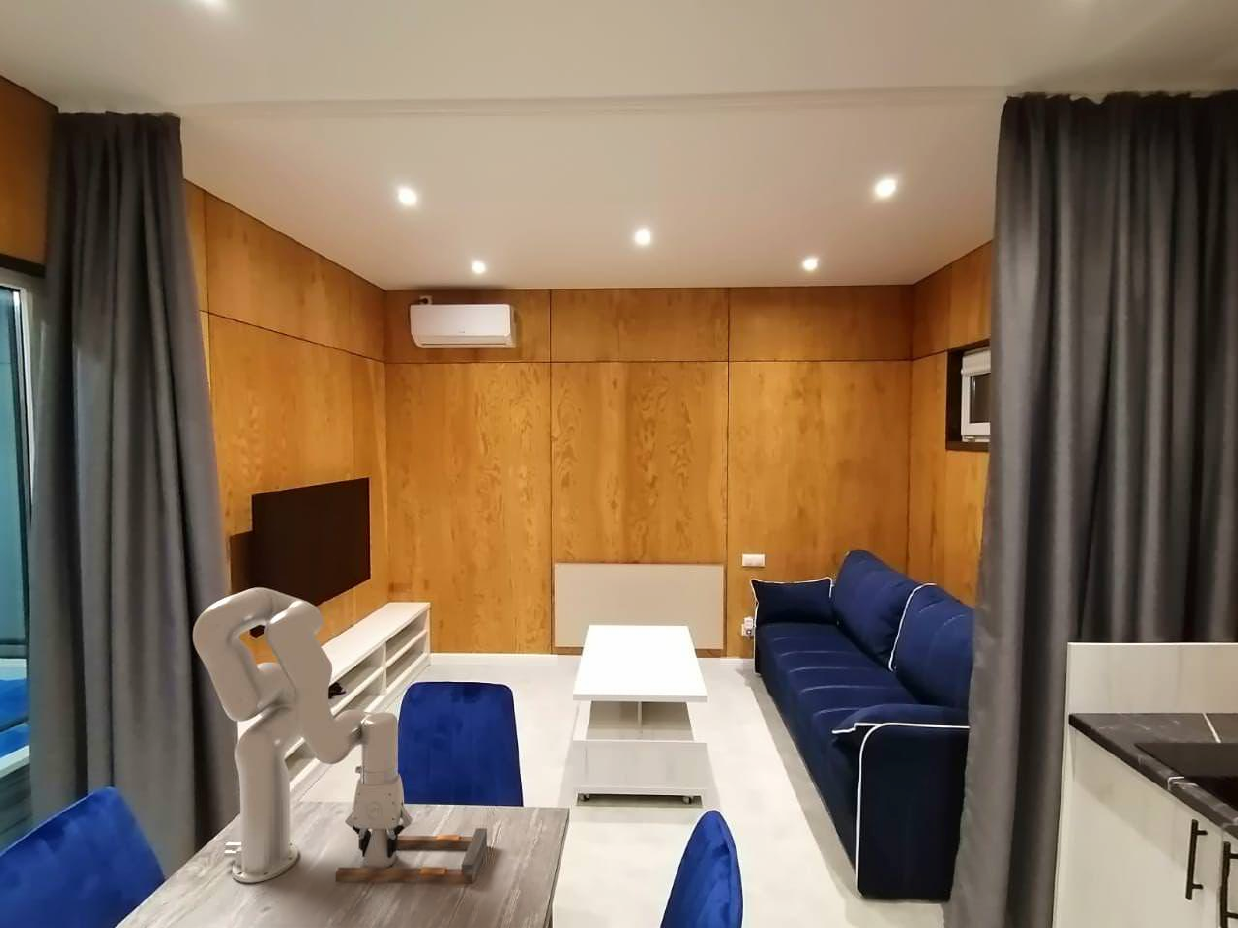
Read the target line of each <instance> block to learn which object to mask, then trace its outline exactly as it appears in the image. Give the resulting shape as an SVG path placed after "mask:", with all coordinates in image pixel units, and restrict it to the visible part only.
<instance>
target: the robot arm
mask: <svg viewBox="0 0 1238 928" xmlns="http://www.w3.org/2000/svg"><path fill="white" fill-rule="evenodd" d="M323 624H324V618H323V615H322V612H321V611H320V609H318V607H317V606H315V605H313V604H311V603H310V602H308V601H306V600H303V599H301V598H297V597H294V596H291V595H288V594H285V593H282V592H279V591H278V590H274V589H270V588H266V587H253V588H249V589H246V590H244V591H241V592H237V593H236V594H232V595H230V596H229V595H228V596H227V597H225V598H223V599H221V600H218V601H217V602H214V603H213V604H212V605H210V606H208V607H207V608H206V609H205V610H204V611H203V612H202V613H201V614H200V615H199V617H198V618H197V620H196V622H195V624H194V626H193V631H192V641H193V645H194V647H195V650H196V652H197V654H198V655H199V657H200V659H201V661H202V662H203V664H204V666H205V668H206V669H207V672H208V675H209V677H210V679H211V682H212V685H213V687H214V689H215V692H216V694H217V696H218V698H219V701H220V703H221V705H222V708H223V710H224V711H225V713H226V716H227V717H228V718H229V719H230V720H232V721H234V722H237V723H243V722H247V721H250V720H252V719H253V718H256V717H257V716H259V715H260V716H261V718H260V719H258V720H257V721H255V722H254V723H253V724H251V726H250V727H248V728H247V729H246V730H245V731H244V732H243V733H242V735H240V737H239V738H238V741H237V743H236V745H235V749H234V760H235V764H236V769H237V772H238V779H239V803H240V804H239V806H240V807H239V808H240V809H239V811H240V812H239V813H240V814H239V817H240V821H239V822H240V823H239V824H240V826H239V827H240V836H239V837H240V839H239V840H240V841H228V842H227V843H226V845H225V849H224V850H225V852H224V853H223V857H224V858H226V859H227V858H228V859H230V858H234V859H235V861H234V862H233V864H232V869H231V874H232V877H233V878H234V880H236V881H239V882H241V883H246V884H247V883H250V884H251V883H258V882H263V881H266V880H270V879H273V878H275V877H277V876H279V875H281V874H283V873H284V872H286V871H287V870H289V869H290V868H291V867H292V866H293V865H294V864H295V862H296V861H297V859H298V857H299V848H298V846H297V844H296V843H294V842H292V841H291V780H290V779H291V778H290V772H289V768H288V765H287V763H286V759H285V757H286V754H288V752H289V751H290V750H291V749H292V748H293V747H294V746H295V745H296V744H297V743H298V742H299V741H300V740H301V739H303V740H304V742H305V743H306V745H307V747H308V749H309V750H310V752H311V754H312V755H313V756H314V757H315V758H316V759H317V760H319V761H320V762H321V763H323V764H327V765H335V764H339V763H341V762H342V761H344V760H346V758H347V757H348V756H349V755H350V754H351V753H352V751H353V750H354V749H355V748H356V747H358V746H361V749H360V752H361V753H360V755H361V756H360V757H361V761H360V762H361V765H356V767H355V769H354V773H356V774H359V775H360V777H359V778H358V780H357V781H356V785H355V791H354V798H353V805H352V811H351V813H350V814H349V816H348V817H347V818H346V819H345V821H344V822H345V824H347V826H349V827H350V828H352V830H353V831H354V832H355V833H356V834H357V838H358V839H361V848H360V852H361V857H362V858H364V855H365V853H366V850H367V847H368V844H369V841H370V838H371V834H372V829H387V832H388V834H389V839H388V841H387V857H388V858H391V856H392V855H393V853H394V851H396V852H397V850H398V849H397V846H398V836H400V834H401V833H402V832H403V831H404V830H405V829H407V828H408V827H409V826H411V825H412V822H413V821H414V818H413V817H412V816H411V815H410V813H409V812H408V811H407V809H406V808H405V796H404V787H403V782H402V781H403V780H402V777H401V774H400V773H398V770H399V769H398V767H399V766H398V765H399V762H398V759H399V757H398V752H399V745H398V744H399V743H398V742H399V741H398V740H399V737H398V736H399V720H398V717H397V716H396V715H395V714H394V713H392V712H385V711H383V712H377V713H375V712H370V711H365V710H361V709H360V710H358V709H347V710H344V711H341V713H339V714H338V715H337V716H336V717H335V718H334V715H333V714H332V710H331V707H330V704H329V687H330V683H331V679H332V674H333V665H332V662H331V660H330V659H329V658H328V656H327V654H326V652H325V650H324V649H323V647H322V646H321V643H320V642H319V640H318V639H317V636H316V635H317V634H318V633H319V632H320V631H321V629H322V628H323ZM258 626H264V631H263V632H264V633H263V634H264V639H265V642H266V643H267V645H268V647H269V649H270V650H271V652H272V654H273V656H274V657H275V659H276V660H277V662H278V663H276V662H262V663H258V664H257V662H256V660H255V657H254V655H253V653H252V650H251V649H250V648H249V647H248V646H247V644H245V643H244V641H243V640H241V639H240V638H239V637H240V636H241V635H242V634H244V633H245V632H248V631H250V630H251V629H253V628H257V627H258ZM401 820H402V822H400V821H401Z"/></svg>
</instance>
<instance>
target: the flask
mask: <svg viewBox="0 0 1238 928" xmlns="http://www.w3.org/2000/svg"><path fill="white" fill-rule="evenodd" d="M388 839H389V833H388V829H371V838H370V841H369V844H368V847H367V850H366V853H365V855H364V857H362V858H363V859H362V862H361V864H360V868H389V867H390V866H391V865H392V864H394V863H395V861H396V859H397V855H398V854H397V850H396V851H394V853H393V855H392V856H391V858H388V857H387V841H388Z"/></svg>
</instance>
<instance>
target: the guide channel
mask: <svg viewBox="0 0 1238 928" xmlns="http://www.w3.org/2000/svg"><path fill="white" fill-rule="evenodd" d="M487 846H488V828H486V827H485V828H483V827H482V828H481V827H480V828H479V827H476V828H475V831H474V833H473V835H472V836H461V835H460V834H438V835H398V846H397V850H398V849H405V850H406V849H410V850H412V849H414V850H467V851H466V853H465V855H464V857H463V860H462V863H461V868H460V869H459V868H458V869H457V868H455V869H454V868H447V867H443V866H442V867H441V866H440V867H435V866H434V867H431V866H422V868H405V867H404V868H398V867H397V868H396V867H395V868H393V867H391V868H390V867H387V868H362V867H338V868H337V869H336V871H335V883H339V882H340V883H341V882H342V883H346V882H347V883H395V884H396V883H400V884H401V883H402V884H405V883H406V884H465V885H466V884H470V885H472V884H475V883H474V882H475V880H476V877H477V874H478V871H479V869H480V867H481V864H482V861H483V858H484V855H485V852H486V849H487ZM358 849H361V839H359V838H358Z"/></svg>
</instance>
